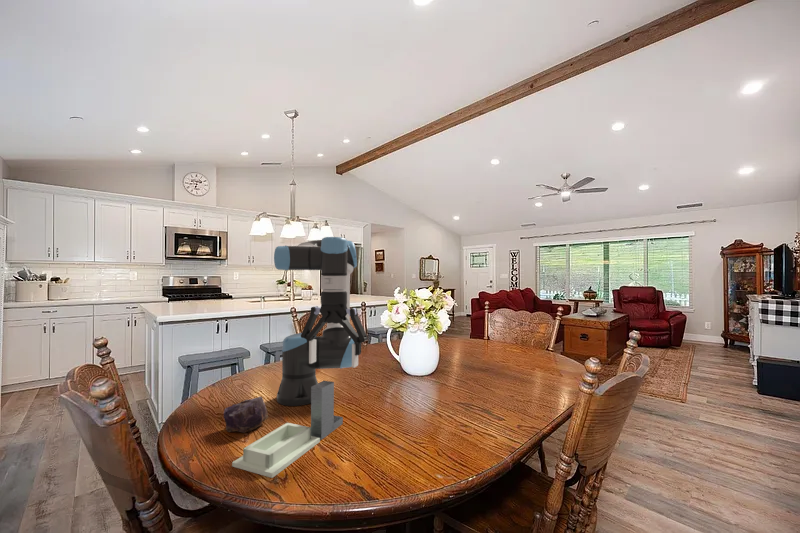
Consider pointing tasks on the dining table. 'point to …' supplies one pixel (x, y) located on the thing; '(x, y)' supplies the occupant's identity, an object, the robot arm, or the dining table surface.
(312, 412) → the grey l-shaped block
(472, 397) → the dining table surface
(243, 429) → the rock
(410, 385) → the dining table surface
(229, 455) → the dining table surface
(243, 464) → the rectangular frame
